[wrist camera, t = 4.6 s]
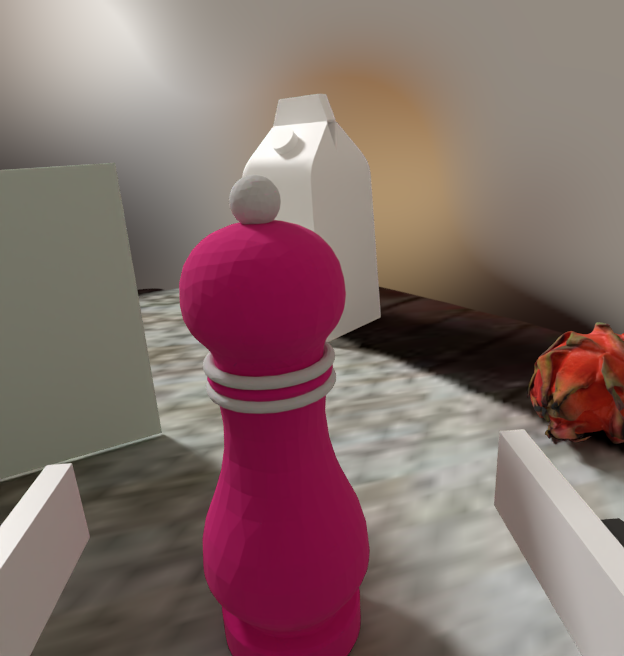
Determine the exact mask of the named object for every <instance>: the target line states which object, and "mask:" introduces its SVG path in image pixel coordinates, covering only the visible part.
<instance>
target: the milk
mask: <svg viewBox="0 0 624 656" xmlns="http://www.w3.org/2000/svg"><path fill="white" fill-rule="evenodd" d="M248 175H261V176H264V177H266V178H268V179H269V180H271V181H272V183H273V184H274V185H275V186H276V187H277V189H278V191H279V194H280V199H281V204H280V210H279V212H278V214H277V216H276V218H275V219H274V220H280V221H285V222H289V223H294V224H298V225H300V226H303V227H305V228H307V229H309V230H312V231H313V232H315V233H316V234H318V235H319V236H320V237H321V238H323V239H324V240H325V241H326V242H327V244H328V245H329V246H330V247H331V248H332V250H333V251H334V253H335V255H336V257H337V258H338V260H339V262H340V265H341V269H342V272H343V276H344V281H345V290H346V299H345V306H344V310H343V313H342V316H341V318H340V321H339V323H338V324H337V326H336V327H335V329H334V330H333V331H332V332H331V334H330V335H329V336H328V337H327V339H326V342H329V341H331V340H333V339H336V338H338V337H340V336H342V335H344V334H346V333H348V332H350V331H353V330H355V329H357V328H359V327H361V326H363V325H365V324H367V323H370V322H372V321H374V320H376V319H378V318H380V317H381V314H380V300H379V286H378V273H377V258H376V244H375V231H374V217H373V202H372V189H371V175H370V168H369V165H368V162H367V160H366V158H365V156H364V155H363V154H362V152H361V151H360V150H359V149H358V147H357V146H356V145H355V144H354V142H353V141H352V140H351V139H350V138H349V136H348V135H347V134H346V133H345V131H344V130H343V129H342V128H341V127H340V125H339V124H338V123H337V122H336V121H335V117H334V114H333V112H332V109H331V106H330V104H329V101H328V98H327V95H326V94H314V95H307V96H300V97H293V98H286V99H279V101H278V106H277V111H276V115H275V120H274V127H273V128H272V129H271V130H270V132H269V133H268V134H267V136H266V137H265V138H264V140H263V141H262V143H261V144H260V145H259V147H258V148H257V149H256V151H255V152H254V154H253V155H252V156H251V158H250V159H249V161H248V162H247V164H246V166H245V168H244V172H243V176H242V178H244V177H245V176H248Z"/></svg>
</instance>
